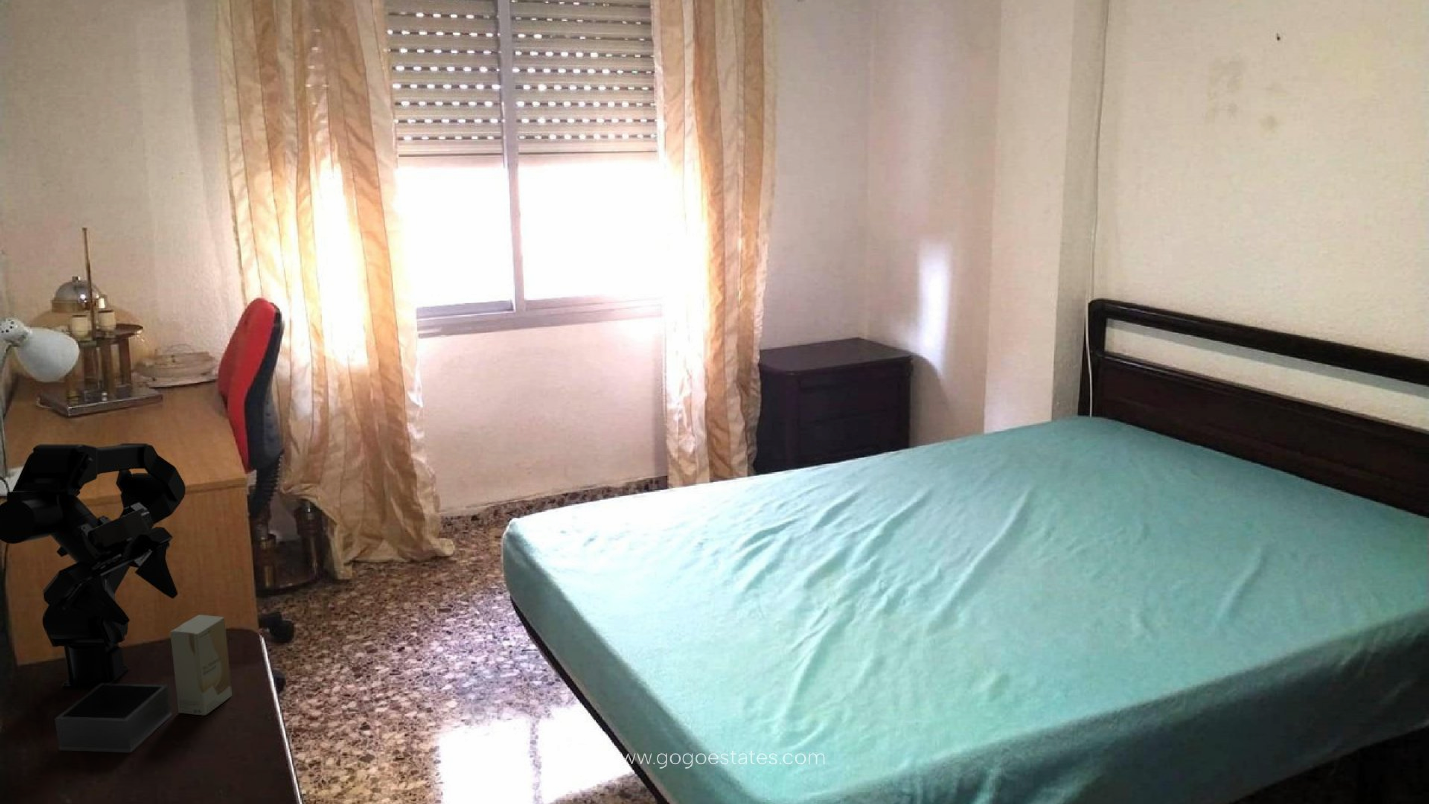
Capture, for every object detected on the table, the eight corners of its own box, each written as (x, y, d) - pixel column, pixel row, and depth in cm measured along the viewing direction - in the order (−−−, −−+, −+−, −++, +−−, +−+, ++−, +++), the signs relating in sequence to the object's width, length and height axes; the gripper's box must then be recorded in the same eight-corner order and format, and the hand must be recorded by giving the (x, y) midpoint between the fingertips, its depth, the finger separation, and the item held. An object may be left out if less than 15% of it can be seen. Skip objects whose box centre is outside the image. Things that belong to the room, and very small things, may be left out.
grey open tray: (59, 750, 139) (54, 718, 138) (104, 712, 148) (100, 683, 147) (130, 752, 138) (126, 721, 137) (172, 714, 147) (168, 685, 146)
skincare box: (205, 717, 147) (195, 635, 144) (177, 713, 148) (167, 632, 145) (234, 694, 153) (226, 615, 150) (207, 691, 154) (198, 612, 151)
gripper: (48, 513, 137) (131, 601, 137) (154, 473, 155) (228, 551, 155) (7, 565, 141) (88, 651, 141) (115, 520, 159) (187, 596, 159)
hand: (152, 609), depth 149 cm, fingers open, 9 cm apart
